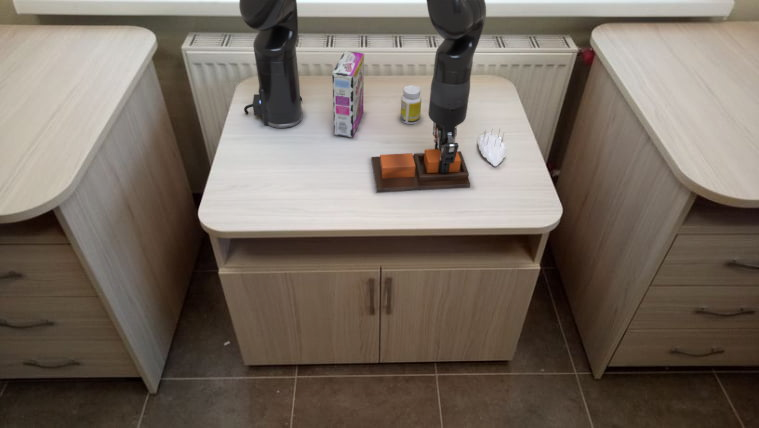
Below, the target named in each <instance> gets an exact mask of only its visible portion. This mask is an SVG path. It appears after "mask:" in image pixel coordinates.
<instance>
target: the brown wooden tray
mask: <svg viewBox="0 0 759 428" xmlns="http://www.w3.org/2000/svg"><path fill="white" fill-rule="evenodd" d="M457 151H458V154H459V157H460V160H461V163H460V170H459V172H448V173H440V174H439V173H427V171H426V167H425V163H424V153H425V152H418V153H417V152H416V153H413V152H410V153H390V154H389V153H388V154H379V156H371V165H372V172H373V178H374V184H375V193H379V194H380V193H396V192H413V191H430V190H432V191H433V190H448V189H449V190H450V189H467V188H471V181H470V178H469V176H470V175H469V174H470V173H469V170H468V168H467V164H466V162H465V159H464V156H463V154H462V151H461V150H457Z"/></svg>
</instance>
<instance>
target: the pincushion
mask: <svg viewBox="0 0 759 428" xmlns="http://www.w3.org/2000/svg"><path fill="white" fill-rule="evenodd" d="M491 130H493V128H492V129H491ZM498 131H499V132H501V129H499V130H498ZM499 135H500V134H498V135H497V134H494V133H493V131H491V132H487V131H484V133H482V134H481V135H479V136H478V138H477V145H478V149H479V152H480V153H481V155H482V157H483V158H485V159H486V160H487V162H489V163H490V164H491V165H492V166H493V167H498V165H500V163H502V162H503V160H504V158H505V157H506V154H507V147H506V144H505V142H504V138H502V137H500V136H499ZM504 135H505V133H503V134H502V136H504Z"/></svg>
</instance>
